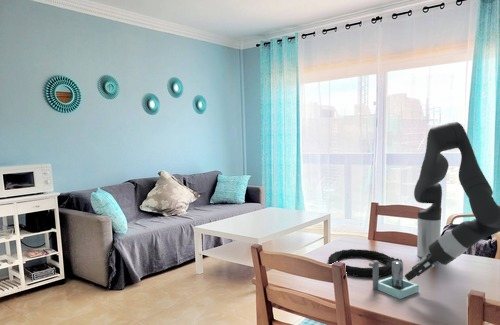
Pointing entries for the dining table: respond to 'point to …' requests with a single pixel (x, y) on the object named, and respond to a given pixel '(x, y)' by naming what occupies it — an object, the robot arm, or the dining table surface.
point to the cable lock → (366, 254)
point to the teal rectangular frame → (385, 284)
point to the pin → (397, 275)
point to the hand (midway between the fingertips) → (410, 274)
